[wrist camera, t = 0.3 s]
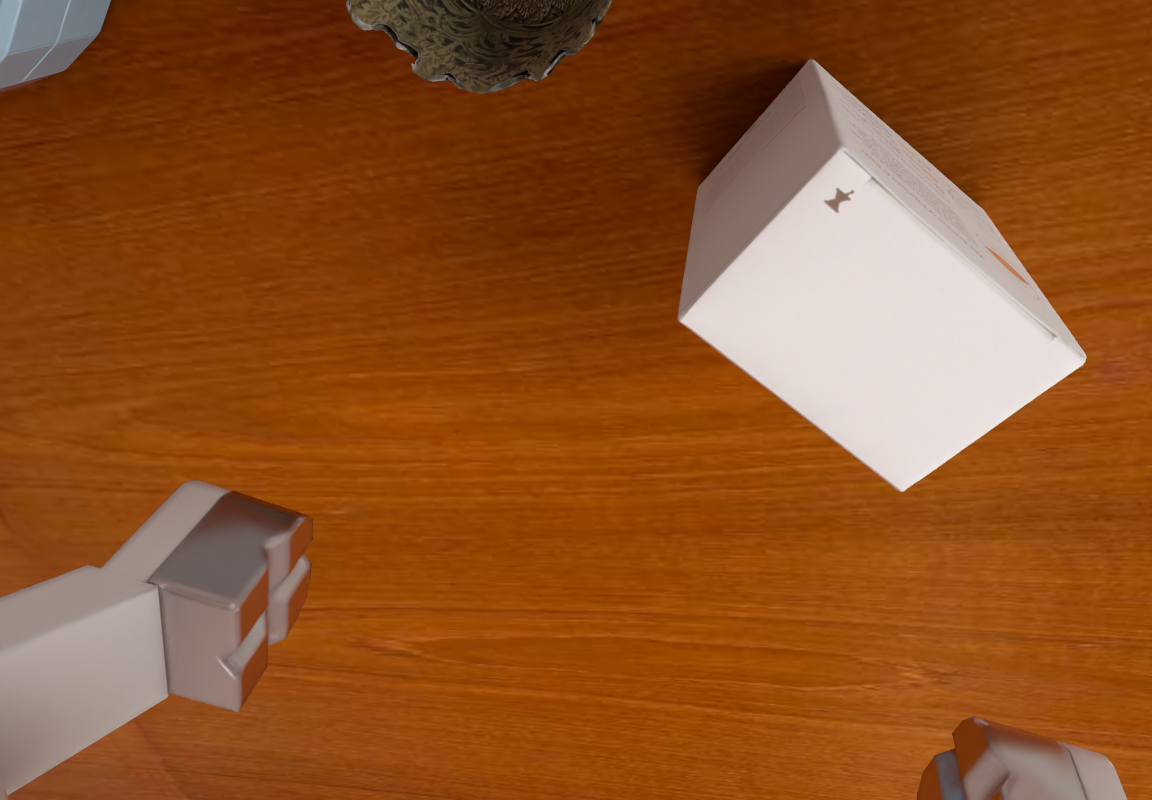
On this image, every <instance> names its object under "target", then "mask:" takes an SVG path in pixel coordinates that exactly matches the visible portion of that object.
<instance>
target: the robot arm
mask: <svg viewBox="0 0 1152 800" xmlns="http://www.w3.org/2000/svg"><path fill="white" fill-rule="evenodd" d="M312 540H313V519H312V518H310V517H309V516H308V515H305V514H302V513H299V512H296V511H293V510H289V509H286V508H283V507H280V506H277V505H274V504H271V503H268V502H265V501H262V500H259V499H256V498H253V497H250V496H247V495H244V494H241V493H238V492H235V491H230V490H227V489H224V488H221V487H218V486H215V485H212V484H209V483H205V482H202V481H199V480H196V479H193V480H191V481H189V482H186V483H184V484H182V485H181V486H180V487H179V488H178V489H177V490H176V491H175V492H174V493H173V494H172V495H171V496H170V497H169V498H168V499H167V500H166V501H165V502H164V503H163V504H162V505H161V506H160V507H159V508H158V509H157V510H156V511H155V512H154V513H153V514H152V515H151V516H150V517H149V519H148V520H147V521H146V522H145V523H144V524H143V525H142V526H141V527H140V528H139V529H138V530H137V531H136V532H135V533H134V534H133V535H132V536H131V537H130V538H129V539H128V540H127V541H126V542H125V543H124V544H123V545H122V546H121V547H120V548H119V549H118V550H117V551H116V552H115V554H114V555H113V556H112V557H111V558H110V559H109V560H108V561H107V562H106V563H105V564H104V565H103V566H102V567H101V568H98V567H94V566H91V565H86V566H84V567H81V568H78V569H76V570H73V571H70V572H67V573H65V574H62V575H59V576H57V577H54V578H51V579H49V580H46V581H43V582H41V583H38V584H35V585H33V586H30V587H27V588H25V589H22V590H19V591H16V592H14V593H11V594H8V595H6V596H3V597H0V800H8V795H9V794H11V793H12V792H14V791H16V790H17V789H19V788H21V787H22V786H24V785H26V784H27V783H29V782H30V781H32V780H34V779H35V778H37V777H39V776H40V775H42V774H43V773H45V772H47V771H48V770H50V769H52V768H53V767H55V766H56V765H58V764H60V763H61V762H63V761H65V760H66V759H68V758H69V757H71V756H73V755H74V754H76V753H78V752H79V751H81V750H83V749H84V748H86V747H87V746H89V745H91V744H92V743H94V742H96V741H97V740H99V739H100V738H102V737H104V736H105V735H107V734H109V733H110V732H112V731H113V730H115V729H117V728H118V727H120V726H122V725H123V724H125V723H126V722H128V721H130V720H131V719H133V718H135V717H136V716H138V715H140V714H141V713H143V712H144V711H146V710H148V709H149V708H151V707H153V706H154V705H156V704H157V703H159V702H161V701H162V700H164V699H166V698H167V697H168V692H169V693H172V694H176V695H179V696H183V697H186V698H190V699H193V700H197V701H200V702H204V703H207V704H211V705H214V706H218V707H222V708H225V709H229V710H232V711H236V712H239V710H240V709H241V707H242V706H243V704H244V703H245V701H246V699H247V698H248V696H249V695H250V693H251V692H252V690H253V688H254V687H255V685H256V684H257V682H258V681H259V679H260V678H261V676H262V674H263V673H264V671H265V670H266V668H267V660H268V646H270V645H272V644H274V643H276V642H278V641H280V640H282V639H284V638H286V636H287V635H288V633H289V631H290V630H291V628H292V627H293V625H294V623H295V622H296V620H297V618H298V616H299V613H300V611H301V608H302V606H303V604H304V601H305V599H306V597H307V592H308V588H309V584H310V579H311V563H310V562H309V560H308V559H307V557H306V556H305V554H304V552H305V550H306V549H307V547H308V546H309V544H310V543H311V541H312ZM952 735H953V739H954V744H955V749H952V750H949V751H946V752H943V753H940V754H937V755H935V756H934V757H933V759H932V760H931V762H930V763H929V764H928V766H927V767H926V769H925V770H924V772H923V774H922V778H921V782H920V785H919V789H918V793H917V800H1127V798H1126V795H1125V793H1124V790H1123V788H1122V785H1121V783H1120V780H1119V778H1118V775H1117V773H1116V770H1115V768H1114V766H1113V764H1112V763H1111V762H1110V761H1109V760H1108V759H1107V758H1106V756H1105V755H1104V754H1100V753H1097V752H1094V751H1090V750H1087V749H1083V748H1080V747H1077V746H1073V745H1070V744H1066V743H1063V742H1056V741H1055V740H1053V739H1050V738H1047V737H1043V736H1040V735H1036V734H1033V733H1030V732H1026V731H1023V730H1019V729H1016V728H1012V727H1009V726H1006V725H1002V724H999V723H995V722H992V721H988V720H985V719H982V718H978V717H975V716H973V717H970V718H968V719H966V720H963V721H962V722H961V723H960V725H959V726H958V727H957V728H956V729H955V731H954V732H953V733H952Z"/></svg>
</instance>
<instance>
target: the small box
mask: <svg viewBox="0 0 1152 800" xmlns="http://www.w3.org/2000/svg"><path fill="white" fill-rule="evenodd" d="M678 321H679V322H680V323H681V324H683V325H684V326H685V327H687V328H688V329H689V330H691V331H692V332H693V333H695V334H696V335H697V336H698V337H700V338H701V339H702V340H703V341H705V342H706V343H707V344H708V345H710V346H711V347H712V348H714V349H715V350H716V351H718V352H719V353H720V354H721V355H723V356H724V357H725V358H727V359H728V360H729V361H731V362H732V363H733V364H735V365H736V366H737V367H739V368H740V369H741V370H742V371H744V372H745V373H746V374H748V375H749V376H750V377H752V378H753V379H754V380H755V381H757V382H758V383H759V384H761V385H762V386H763V387H765V388H766V389H767V390H769V391H770V392H771V393H773V394H774V395H775V396H777V397H778V398H779V399H781V400H782V401H783V402H784V403H786V404H787V405H788V406H789V407H791V408H792V409H793V410H795V411H796V412H797V413H799V414H800V415H801V416H802V417H804V418H805V419H806V420H807V421H809V422H810V423H812V424H813V425H814V426H816V427H817V428H818V429H819V430H821V431H822V432H823V433H824V434H826V435H827V436H828V437H830V438H831V439H832V440H834V441H835V442H836V443H838V444H839V445H840V446H842V447H843V448H844V449H845V450H847V451H848V452H849V453H850V454H852V455H853V456H854V457H856V458H857V459H858V460H859V461H861V462H862V463H863V464H865V465H866V466H867V467H868V468H870V469H871V470H872V471H874V472H875V473H876V474H877V475H879V476H880V477H881V478H883V479H884V480H885V481H887V482H888V483H889V484H891V485H892V486H893V487H894V488H895V489H896V490H898V491H899V492H902V491H905V490H906V489H907V488H909V487H910V486H911V485H913V484H914V483H916V482H917V481H919V480H920V479H922V478H923V477H925V476H926V475H928V474H929V473H931V472H932V471H933V470H935V469H936V468H938V467H939V466H940V465H942V464H943V463H945V462H946V461H947V460H949V459H950V458H952V457H953V456H954V455H956V454H957V453H959V452H960V451H961V450H963V449H964V448H966V447H967V446H968V445H970V444H971V443H973V442H974V441H976V440H977V439H978V438H980V437H981V436H983V435H984V434H985V433H987V432H988V431H990V430H991V429H992V428H994V427H995V426H997V425H998V424H999V423H1001V422H1002V421H1004V420H1005V419H1006V418H1008V417H1009V416H1011V415H1012V414H1013V413H1015V412H1016V411H1018V410H1019V409H1020V408H1022V407H1023V406H1025V405H1026V404H1027V403H1029V402H1030V401H1032V400H1033V399H1034V398H1036V397H1037V396H1039V395H1040V394H1042V393H1043V392H1044V391H1046V390H1047V389H1049V388H1050V387H1052V386H1053V385H1054V384H1056V383H1057V382H1059V381H1060V380H1062V379H1063V378H1064V377H1066V376H1067V375H1069V374H1070V373H1072V372H1073V371H1075V370H1076V369H1078V368H1079V367H1080V366H1082V365H1083V364H1084V363H1085V361H1086V355H1085V353H1084V351H1083V350H1082V349H1081V347H1080V346H1079V344H1078V343H1077V342H1076V340H1075V339H1074V337H1073V336H1072V334H1071V333H1070V331H1069V330H1068V328H1067V327H1066V326H1065V324H1064V323H1063V321H1062V320H1061V319H1060V317H1059V316H1058V314H1057V313H1056V312H1055V310H1054V309H1053V307H1052V306H1051V304H1050V303H1049V302H1048V300H1047V299H1046V297H1045V296H1044V294H1043V293H1042V292H1041V291H1040V289H1039V288H1038V286H1037V285H1036V284H1035V282H1034V281H1033V279H1032V278H1031V277H1030V275H1029V274H1028V272H1027V271H1026V269H1025V268H1024V266H1023V265H1022V264H1021V262H1020V261H1019V260H1018V258H1017V257H1016V255H1015V254H1014V253H1013V251H1012V250H1011V248H1010V247H1009V245H1008V244H1007V242H1006V241H1005V240H1004V238H1003V237H1002V235H1001V234H1000V232H999V231H998V229H997V228H996V227H995V225H994V224H993V222H992V221H991V219H990V218H989V217H988V215H987V214H986V212H985V211H984V210H983V209H982V208H981V207H980V206H979V205H977V204H976V203H975V202H974V201H973V200H971V199H970V198H969V197H968V196H967V195H966V194H965V193H963V192H962V191H961V190H960V189H959V188H958V187H957V186H956V185H954V184H953V183H952V182H951V181H950V180H949V179H948V178H947V177H945V176H944V175H943V174H942V173H941V172H940V171H939V170H937V169H936V168H935V167H934V166H933V165H932V164H931V163H930V162H928V161H927V160H926V159H925V158H924V157H923V156H922V155H920V154H919V153H918V152H917V151H916V150H915V149H914V148H912V147H911V146H910V145H909V144H908V143H907V142H906V141H905V140H903V139H902V138H901V137H900V136H899V135H898V134H897V133H895V132H894V131H893V130H892V129H891V128H890V127H889V126H888V125H886V124H885V123H884V122H883V121H882V120H881V119H880V118H878V117H877V116H876V115H875V114H874V113H873V112H872V111H870V110H869V109H868V108H867V107H866V106H865V105H864V104H862V103H861V102H860V101H859V100H858V99H857V98H856V97H855V96H853V95H852V94H851V93H850V92H849V91H848V90H847V89H846V88H845V87H843V86H842V85H841V84H840V83H839V82H838V81H837V80H836V79H834V78H833V77H832V76H831V75H830V74H829V73H828V72H827V71H826V70H825V69H823V68H822V67H821V66H820V65H819V64H818V63H817V62H816V61H815V60H813V59H810V60H808V62H807V63H806V64H805V65H804V66H803V68H802V69H801V70H800V71H799V72H798V73H797V75H796V76H795V77H794V78H793V79H792V80H791V81H790V83H789V84H788V85H787V86H786V87H785V88H784V89H783V91H782V92H781V93H780V94H779V95H778V96H777V97H776V99H775V100H774V101H773V102H772V103H771V104H770V105H769V107H768V108H767V109H766V110H765V111H764V112H763V114H762V115H761V116H760V117H759V118H758V119H757V120H756V122H755V123H754V124H753V125H752V126H751V127H750V128H749V130H748V131H747V132H746V133H745V134H744V135H743V136H742V137H741V139H740V140H739V141H738V142H737V143H736V144H735V145H734V147H733V148H732V149H731V150H730V151H729V152H728V154H727V155H726V156H725V157H724V158H723V159H722V160H721V162H720V163H719V164H718V165H717V166H716V167H715V169H714V170H713V171H712V172H711V173H710V174H709V175H708V177H707V178H706V179H705V180H704V181H703V182H702V183H701V185H700V186H699V187H698V190H697V197H696V203H695V209H694V215H693V221H692V228H691V234H690V240H689V247H688V254H687V260H686V266H685V272H684V277H683V283H682V291H681V298H680V304H679V311H678Z"/></svg>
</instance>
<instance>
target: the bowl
mask: <svg viewBox="0 0 1152 800" xmlns="http://www.w3.org/2000/svg"><path fill="white" fill-rule="evenodd" d="M110 2H111V0H0V93H1V92H4V91H8V90H12V89H15V88H19V87H22V86H25V85H27V84H30V83H33V82H36V81H38V80H41V79H44V78H46V77H49V76H52V75H55V74H57V73H60V72H63V71H64V70H66V69H67V68H68V67H69V66H70V65H71V64H72V62H73V61H74V60H75V59H76V58H77V57H78V56H79V55H80V54H81V53H82V52H83V51H84V50H85V48H86V47H87V46H88V45H89V44H90V43H91V42H92V41H93V40H94V39H95V38H96V37H97V36H98V34H99V33H100V31H101V28H102V25H103V22H104V19H105V17H106V14H107V11H108V8H109V5H110Z"/></svg>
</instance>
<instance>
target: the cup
mask: <svg viewBox="0 0 1152 800" xmlns="http://www.w3.org/2000/svg"><path fill="white" fill-rule="evenodd" d="M611 2H612V0H347V2H346V6H347V10H348V13H349V16H350V18H351V20H352V21H353V22H354V23H355V24H356V25H357V26H358V27H360V28H361V29H363V30H376V31H378V30H382V31H383V30H384V31H385V32H386V33H387V34H388V35H389V36H390V37H391V38H392V39H393V41H394V44H395V46H396V47H397V48H399V49H402V50H404V51H407V52H408V53H409V54H410V55H412V56H413V57H414V58H415V59H416V61H415V65H414V64H413V63H412V71H413V72H414V73H416V74H417V75H418V76H420V77H421V78H423V79H425V80H428V81H445V80H449V81H450V82H452V83H453V84H454V85H455V86H457V87H458V88H460V89H463V90H466V91H469V92H473V93H481V94H484V93H490V92H494V91H498V90H501V89H504V88H507V87H510V86H512V85H513V84H515V83H517V82H519V81H522V80H524V79H526V78H529V79H532V81H538V80H541V79H543V78H545V77H547V76H548V75H549V74H550V73H551V72H552V70H553V69H554V68H555V66H556V65H557V64H558V63H559V62H560V61H561V59H562V58H563V57H565V56H571V55H574V54H575V53H577V52H578V51H579V50H580V49H581V48H583V47H584V46H585V45H586V44H587V42H588V41H589V40H590V39H591V38H592V37H593V35H594V34H595V32H596V29H597V26H598V25H599V24H601V22H602V20H603V18H604V16H605V14H606V12H607V10H608V9H609V7H610V5H611ZM372 28H373V29H372Z"/></svg>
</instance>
